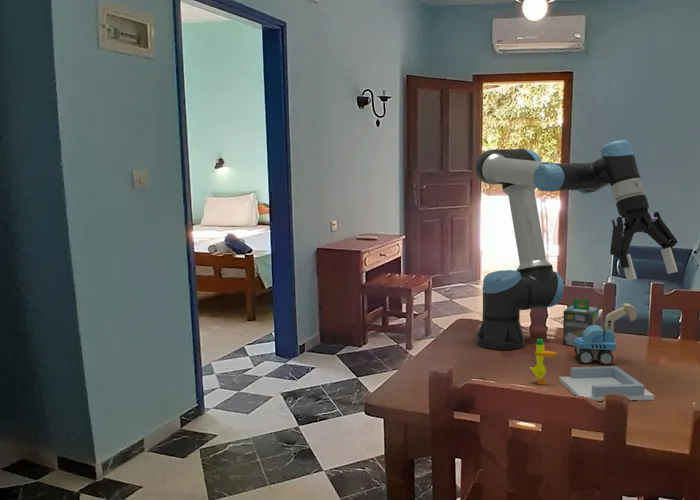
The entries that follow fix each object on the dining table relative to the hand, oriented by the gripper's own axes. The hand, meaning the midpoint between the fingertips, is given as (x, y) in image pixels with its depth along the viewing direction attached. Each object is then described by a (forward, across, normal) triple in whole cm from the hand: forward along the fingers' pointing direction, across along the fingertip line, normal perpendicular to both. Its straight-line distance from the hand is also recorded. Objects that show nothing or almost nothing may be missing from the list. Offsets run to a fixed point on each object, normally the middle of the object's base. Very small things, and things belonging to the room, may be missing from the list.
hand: (652, 276), depth 162 cm
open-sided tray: (+26, -16, +10) cm, 32 cm away
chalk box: (+15, +7, +44) cm, 47 cm away
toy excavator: (+20, +1, +28) cm, 35 cm away
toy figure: (+22, -27, +20) cm, 40 cm away
